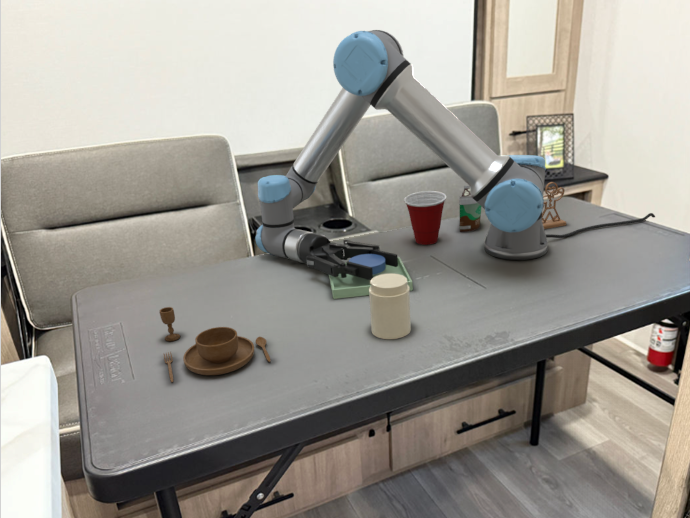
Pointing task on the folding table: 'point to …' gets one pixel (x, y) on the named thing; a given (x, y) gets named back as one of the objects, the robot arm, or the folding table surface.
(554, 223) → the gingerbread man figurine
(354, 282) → the tray
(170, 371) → the place setting
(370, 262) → the lid
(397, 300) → the jar
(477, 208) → the food container
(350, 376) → the folding table surface
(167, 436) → the folding table surface
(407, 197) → the plastic cup
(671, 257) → the folding table surface
